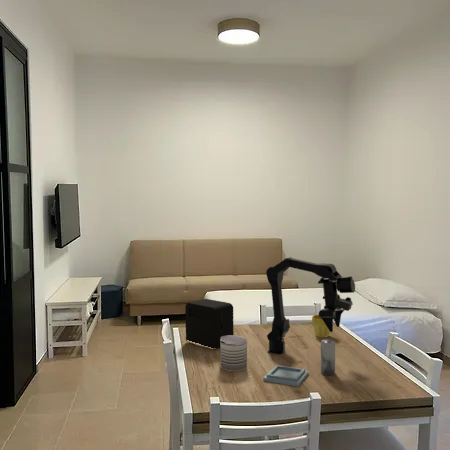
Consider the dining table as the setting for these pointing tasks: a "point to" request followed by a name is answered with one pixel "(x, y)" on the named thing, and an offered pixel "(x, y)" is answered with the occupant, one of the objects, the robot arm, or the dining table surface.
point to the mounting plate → (286, 375)
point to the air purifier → (208, 321)
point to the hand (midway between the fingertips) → (334, 329)
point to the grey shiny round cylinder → (328, 357)
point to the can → (233, 352)
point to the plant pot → (320, 327)
